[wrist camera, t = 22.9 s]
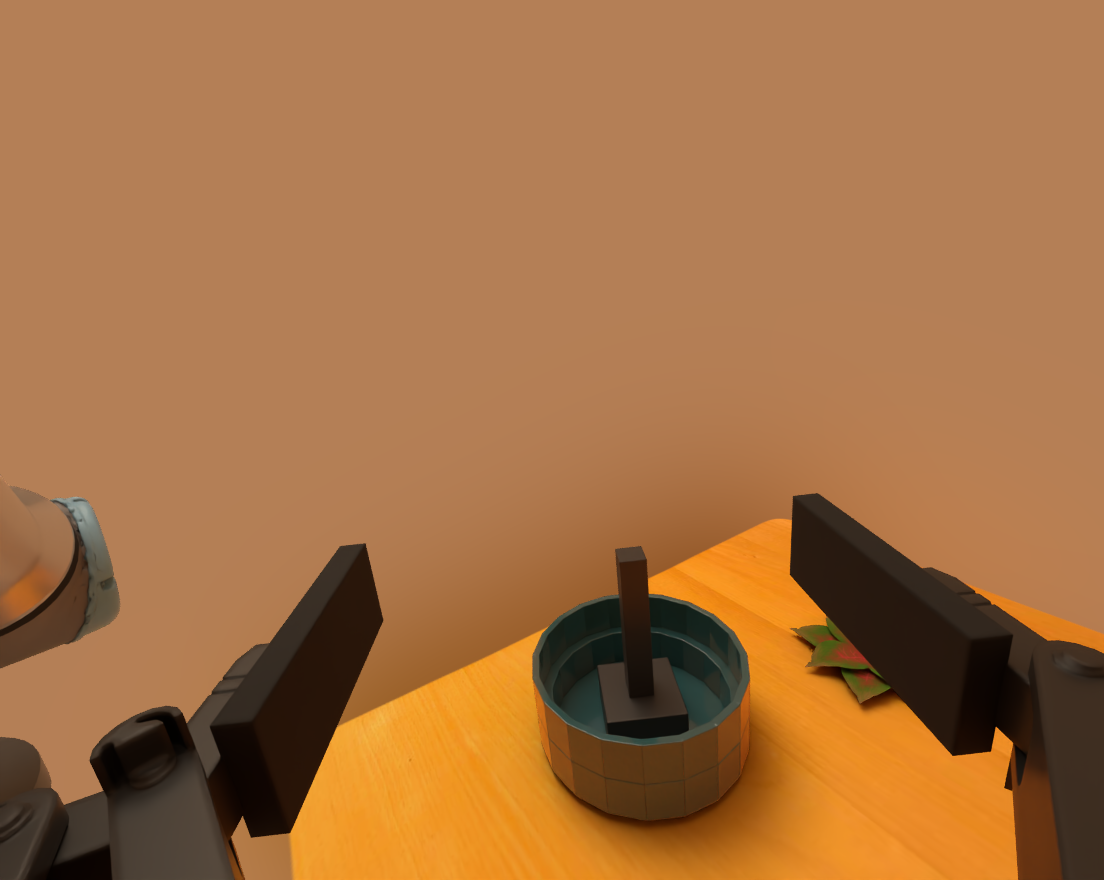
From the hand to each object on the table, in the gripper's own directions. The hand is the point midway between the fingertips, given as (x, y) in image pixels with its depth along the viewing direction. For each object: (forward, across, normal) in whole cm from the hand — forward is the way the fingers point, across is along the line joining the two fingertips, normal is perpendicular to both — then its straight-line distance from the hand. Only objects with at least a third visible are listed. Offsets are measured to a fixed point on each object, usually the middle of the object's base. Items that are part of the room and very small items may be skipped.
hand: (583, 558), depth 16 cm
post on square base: (+16, +4, -24) cm, 29 cm away
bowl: (+16, +4, -24) cm, 30 cm away
